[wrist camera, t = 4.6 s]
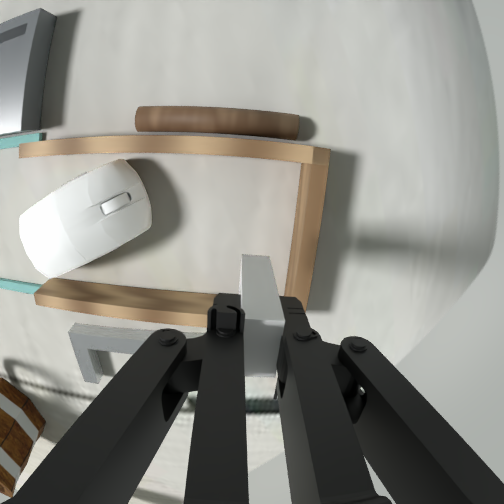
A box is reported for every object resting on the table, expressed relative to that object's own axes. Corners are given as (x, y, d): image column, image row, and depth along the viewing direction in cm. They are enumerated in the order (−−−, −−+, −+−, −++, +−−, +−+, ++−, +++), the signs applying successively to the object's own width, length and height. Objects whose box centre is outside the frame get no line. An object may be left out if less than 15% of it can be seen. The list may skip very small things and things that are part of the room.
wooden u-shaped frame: (53, 288, 26) (36, 304, 23) (41, 141, 21) (19, 143, 18) (294, 310, 28) (301, 332, 25) (318, 147, 23) (330, 148, 20)
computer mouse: (165, 221, 25) (143, 246, 19) (55, 271, 26) (21, 301, 20) (134, 150, 23) (103, 154, 17) (28, 213, 24) (-12, 232, 18)
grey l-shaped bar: (90, 371, 30) (84, 381, 28) (75, 322, 28) (68, 332, 26) (227, 383, 31) (226, 395, 29) (226, 333, 29) (226, 344, 27)
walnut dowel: (136, 136, 21) (133, 112, 20) (144, 124, 22) (142, 102, 21) (295, 145, 22) (300, 121, 20) (292, 132, 23) (297, 110, 22)
